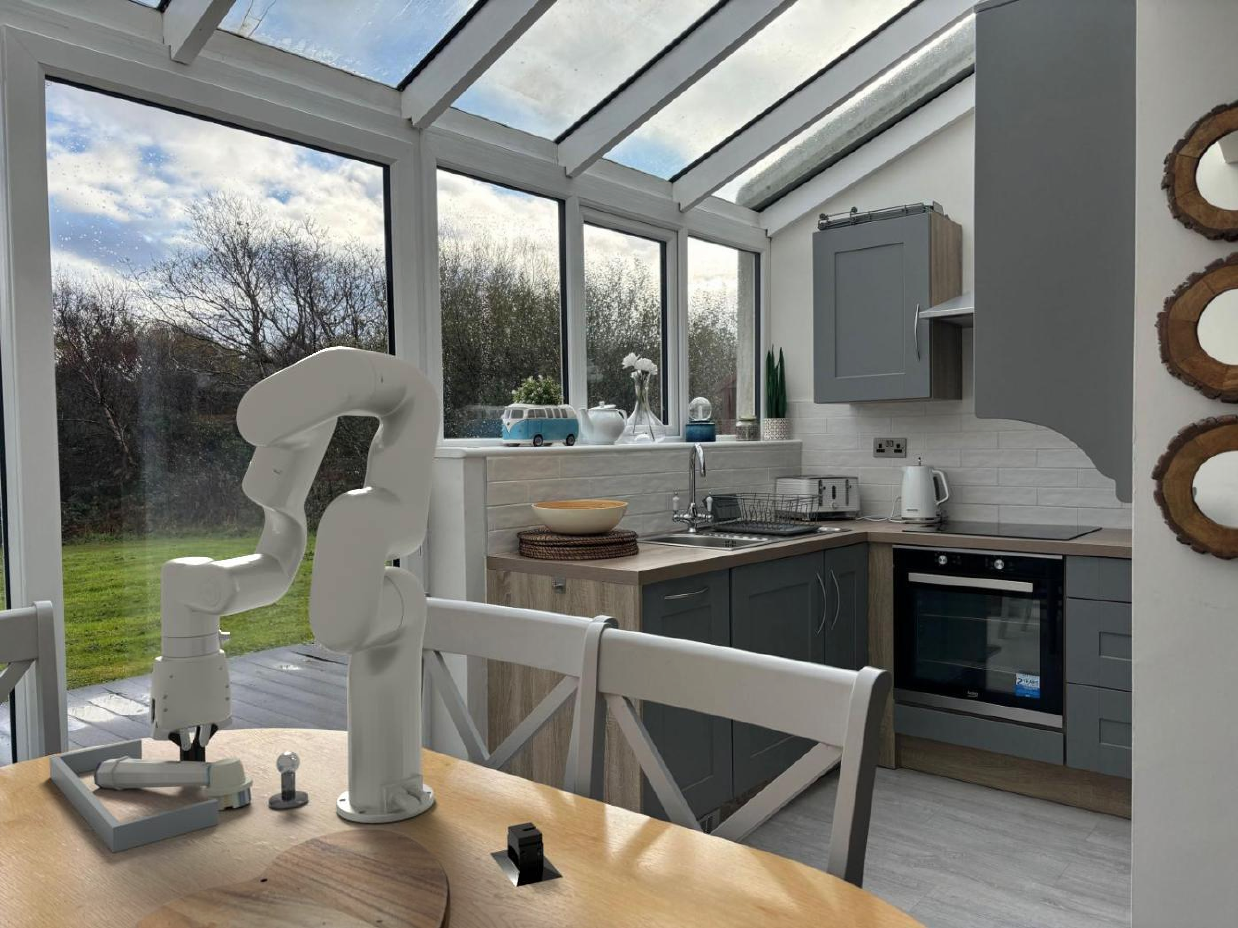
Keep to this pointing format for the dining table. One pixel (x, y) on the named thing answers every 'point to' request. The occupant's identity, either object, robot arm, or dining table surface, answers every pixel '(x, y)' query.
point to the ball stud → (288, 784)
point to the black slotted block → (525, 856)
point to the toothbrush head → (179, 777)
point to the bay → (104, 820)
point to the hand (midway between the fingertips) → (192, 773)
